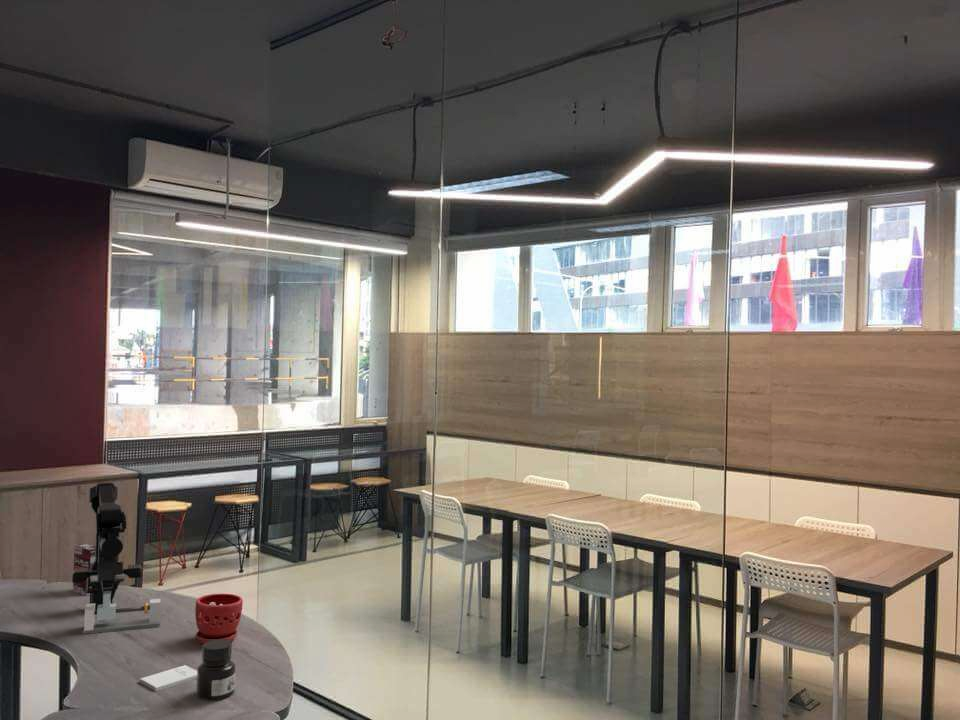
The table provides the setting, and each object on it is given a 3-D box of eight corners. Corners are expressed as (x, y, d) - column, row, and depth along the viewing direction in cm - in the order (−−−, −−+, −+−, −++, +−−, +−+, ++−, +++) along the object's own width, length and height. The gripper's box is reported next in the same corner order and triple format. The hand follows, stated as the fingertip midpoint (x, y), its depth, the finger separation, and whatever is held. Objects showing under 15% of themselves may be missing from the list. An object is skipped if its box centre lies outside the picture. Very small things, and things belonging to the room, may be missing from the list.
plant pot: (214, 650, 218) (215, 608, 218) (184, 641, 225) (186, 599, 225) (250, 637, 229) (252, 597, 229) (221, 628, 236) (222, 589, 236)
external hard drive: (139, 684, 195) (184, 670, 205) (155, 693, 190) (201, 678, 200) (139, 678, 195) (184, 664, 205) (155, 687, 190) (201, 672, 200)
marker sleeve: (96, 620, 231) (97, 594, 231) (97, 616, 234) (98, 591, 235) (115, 618, 233) (116, 593, 233) (115, 615, 236) (116, 590, 237)
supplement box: (71, 591, 269) (73, 546, 270) (84, 588, 274) (86, 543, 274) (88, 595, 265) (89, 549, 266) (100, 592, 270) (102, 546, 270)
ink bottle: (219, 704, 184) (221, 653, 184) (187, 699, 186) (189, 649, 186) (242, 688, 193) (244, 640, 193) (212, 683, 196) (213, 635, 196)
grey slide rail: (82, 634, 228) (83, 610, 228) (84, 626, 235) (85, 603, 235) (159, 626, 236) (160, 603, 236) (159, 619, 243) (160, 597, 243)
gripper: (71, 558, 223) (69, 612, 223) (141, 554, 230) (140, 606, 230) (74, 549, 233) (73, 601, 233) (142, 545, 241) (140, 596, 240)
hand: (106, 601), depth 234 cm, fingers closed on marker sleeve, 2 cm apart
